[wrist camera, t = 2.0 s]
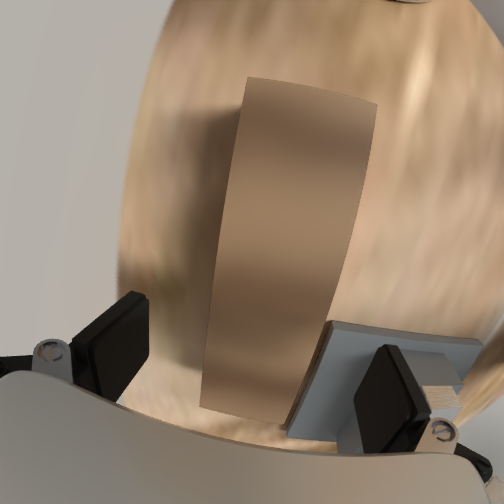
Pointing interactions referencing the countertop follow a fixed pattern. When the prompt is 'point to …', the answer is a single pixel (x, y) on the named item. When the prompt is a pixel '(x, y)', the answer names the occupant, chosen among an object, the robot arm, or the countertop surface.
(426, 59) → the countertop surface
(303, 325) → the walnut beam
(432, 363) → the fulcrum stand
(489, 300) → the countertop surface
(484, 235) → the countertop surface
